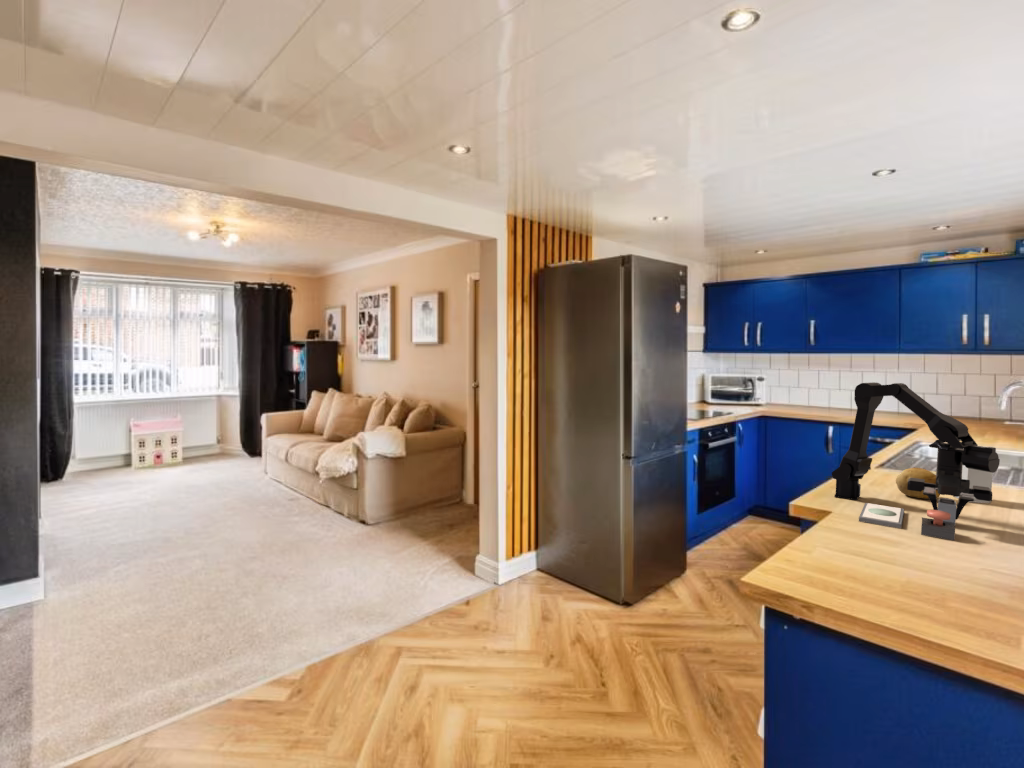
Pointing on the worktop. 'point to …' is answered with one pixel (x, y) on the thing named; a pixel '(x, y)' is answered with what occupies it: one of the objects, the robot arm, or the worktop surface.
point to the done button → (938, 516)
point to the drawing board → (882, 515)
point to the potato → (915, 473)
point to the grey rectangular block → (948, 508)
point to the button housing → (938, 529)
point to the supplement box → (977, 480)
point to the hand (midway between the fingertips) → (946, 517)
